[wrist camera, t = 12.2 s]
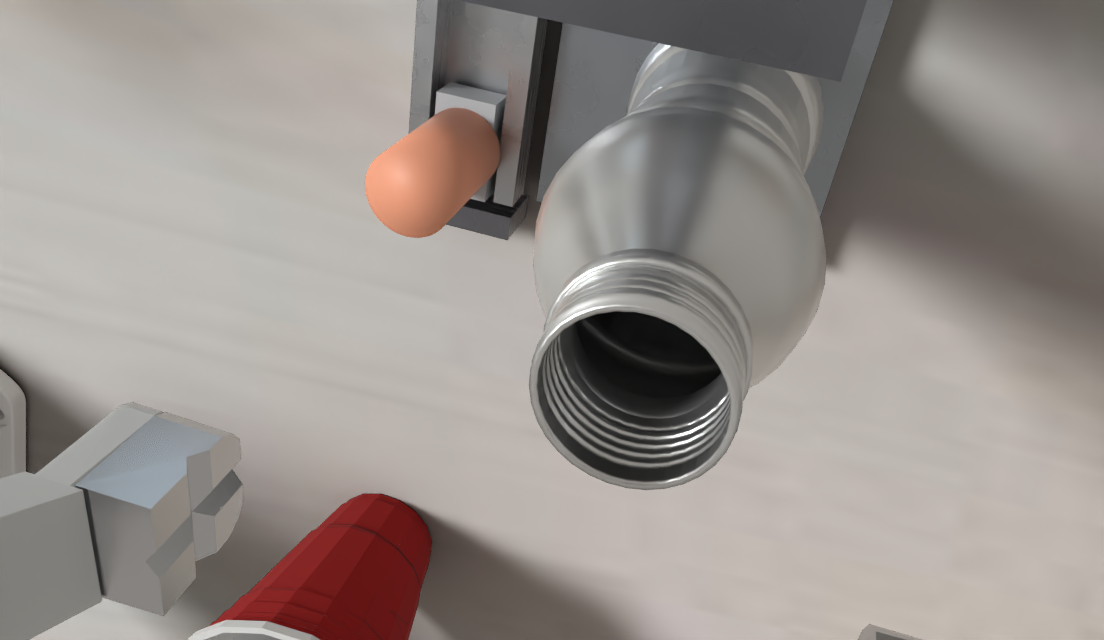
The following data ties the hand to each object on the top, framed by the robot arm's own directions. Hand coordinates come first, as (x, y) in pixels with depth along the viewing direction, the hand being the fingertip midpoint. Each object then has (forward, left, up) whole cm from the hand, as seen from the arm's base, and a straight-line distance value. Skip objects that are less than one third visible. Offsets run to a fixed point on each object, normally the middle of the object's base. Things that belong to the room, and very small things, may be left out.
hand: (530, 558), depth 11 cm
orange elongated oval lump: (-4, +9, -24) cm, 26 cm away
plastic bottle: (0, -1, -24) cm, 24 cm away
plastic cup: (-29, +12, -26) cm, 41 cm away
